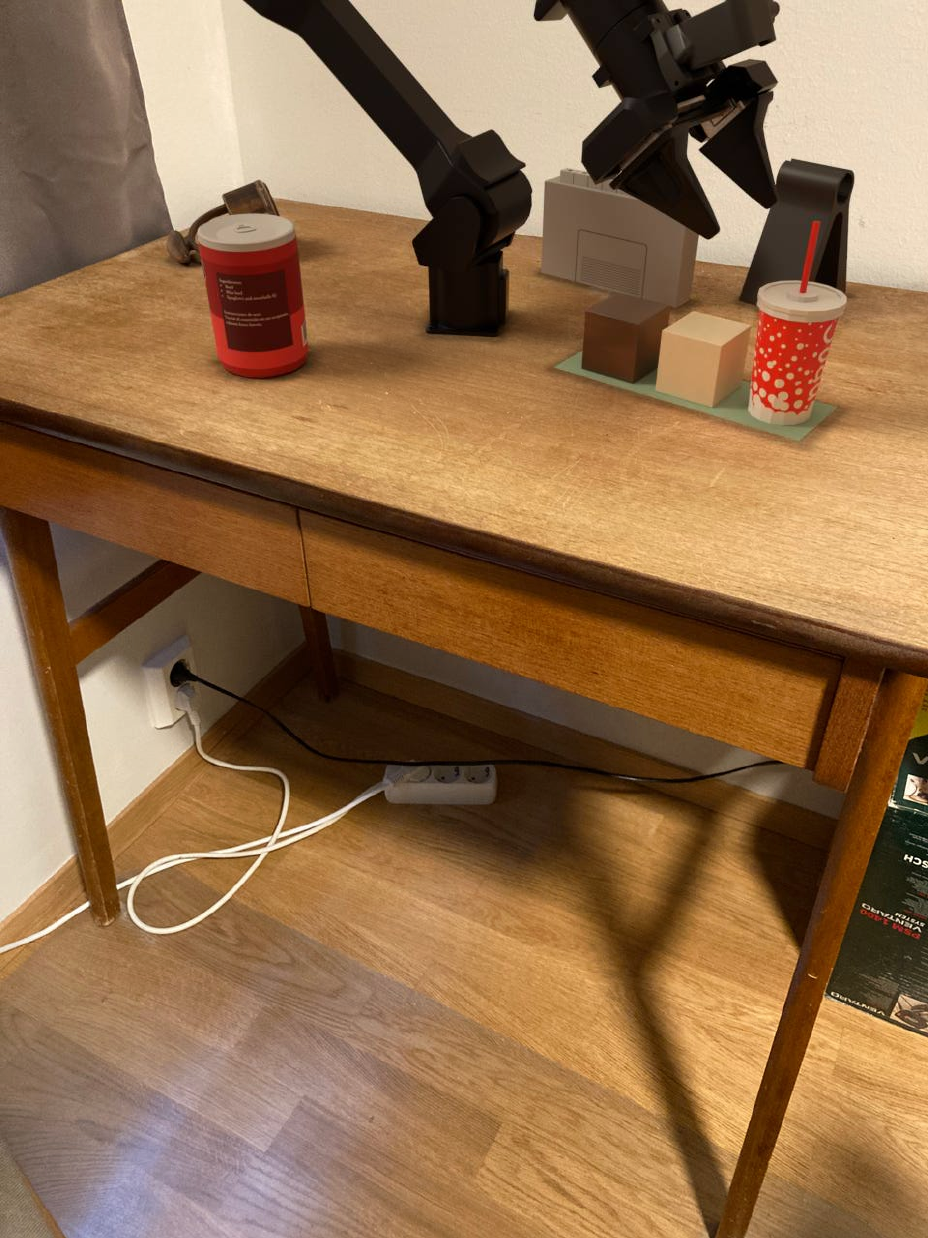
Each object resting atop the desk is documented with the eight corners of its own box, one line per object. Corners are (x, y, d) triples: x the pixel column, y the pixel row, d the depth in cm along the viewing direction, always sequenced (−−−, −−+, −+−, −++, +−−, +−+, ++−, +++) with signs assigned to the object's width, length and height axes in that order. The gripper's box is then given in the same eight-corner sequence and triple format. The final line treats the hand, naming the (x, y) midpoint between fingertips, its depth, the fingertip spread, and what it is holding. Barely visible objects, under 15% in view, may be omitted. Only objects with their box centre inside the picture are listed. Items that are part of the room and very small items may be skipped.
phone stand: (793, 319, 91) (820, 180, 84) (737, 302, 95) (759, 167, 87) (845, 295, 96) (875, 161, 89) (791, 279, 100) (815, 150, 92)
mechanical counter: (280, 216, 100) (294, 168, 106) (151, 204, 99) (172, 156, 106) (284, 281, 105) (297, 231, 112) (162, 270, 105) (182, 220, 111)
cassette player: (689, 302, 95) (704, 191, 89) (675, 310, 93) (689, 198, 87) (556, 267, 103) (561, 163, 97) (541, 274, 101) (545, 169, 95)
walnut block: (580, 368, 83) (584, 309, 80) (612, 349, 86) (617, 291, 83) (633, 384, 80) (639, 323, 77) (664, 363, 83) (671, 304, 80)
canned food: (273, 334, 90) (256, 206, 83) (328, 360, 85) (316, 227, 78) (200, 359, 86) (176, 227, 79) (254, 387, 81) (234, 249, 74)
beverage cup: (785, 438, 73) (826, 241, 64) (720, 408, 77) (751, 219, 68) (837, 414, 76) (883, 223, 67) (772, 387, 79) (808, 203, 71)
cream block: (655, 391, 79) (662, 329, 76) (685, 369, 82) (693, 310, 79) (712, 408, 77) (722, 345, 74) (741, 385, 80) (752, 325, 77)
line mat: (553, 370, 83) (553, 366, 83) (598, 343, 87) (599, 340, 87) (798, 444, 73) (799, 440, 72) (836, 410, 77) (837, 406, 77)
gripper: (637, -54, 59) (777, 176, 60) (776, -73, 70) (891, 121, 71) (524, 80, 68) (648, 278, 69) (664, 44, 79) (768, 215, 80)
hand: (745, 219), depth 72 cm, fingers open, 9 cm apart
